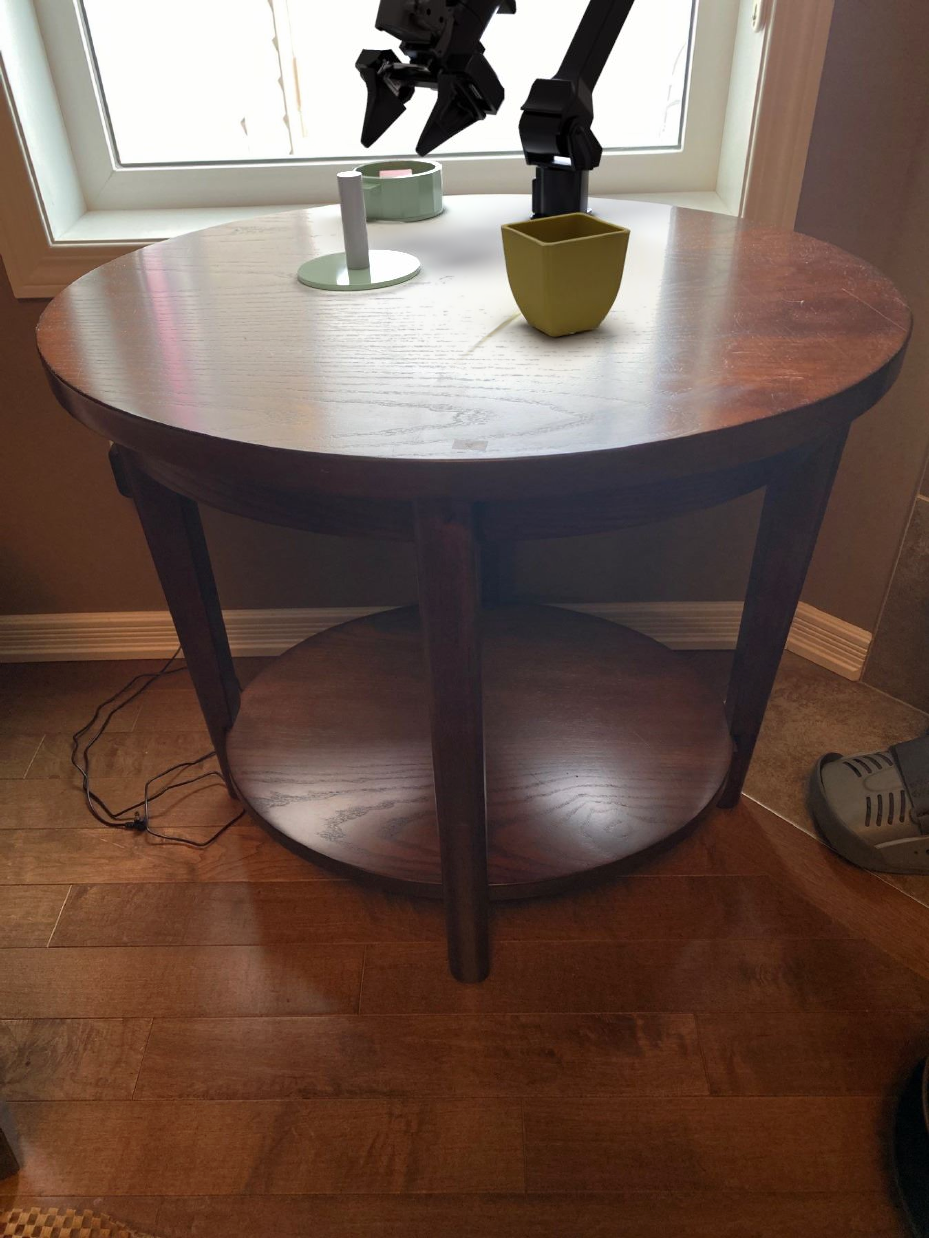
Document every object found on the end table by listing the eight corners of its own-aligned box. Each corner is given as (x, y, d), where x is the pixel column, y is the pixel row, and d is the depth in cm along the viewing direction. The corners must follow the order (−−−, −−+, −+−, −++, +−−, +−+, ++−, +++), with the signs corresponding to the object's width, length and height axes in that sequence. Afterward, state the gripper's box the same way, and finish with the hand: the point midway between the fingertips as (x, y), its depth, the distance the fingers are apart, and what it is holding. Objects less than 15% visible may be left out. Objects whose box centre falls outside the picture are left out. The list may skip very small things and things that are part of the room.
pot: (466, 200, 131) (465, 158, 127) (407, 231, 118) (404, 184, 115) (390, 195, 135) (387, 154, 132) (325, 224, 122) (319, 179, 119)
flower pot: (499, 321, 88) (498, 223, 83) (577, 306, 91) (581, 210, 85) (543, 349, 82) (545, 244, 76) (626, 332, 84) (633, 230, 79)
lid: (441, 266, 104) (435, 164, 98) (382, 302, 94) (372, 191, 88) (340, 256, 109) (328, 159, 103) (274, 289, 99) (257, 184, 93)
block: (413, 203, 128) (411, 169, 125) (414, 210, 125) (412, 175, 122) (382, 205, 128) (379, 171, 125) (382, 212, 124) (379, 177, 122)
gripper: (359, -42, 96) (288, 90, 97) (482, -47, 85) (402, 101, 86) (420, 40, 105) (355, 159, 106) (538, 44, 94) (465, 179, 95)
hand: (390, 149), depth 98 cm, fingers open, 9 cm apart
